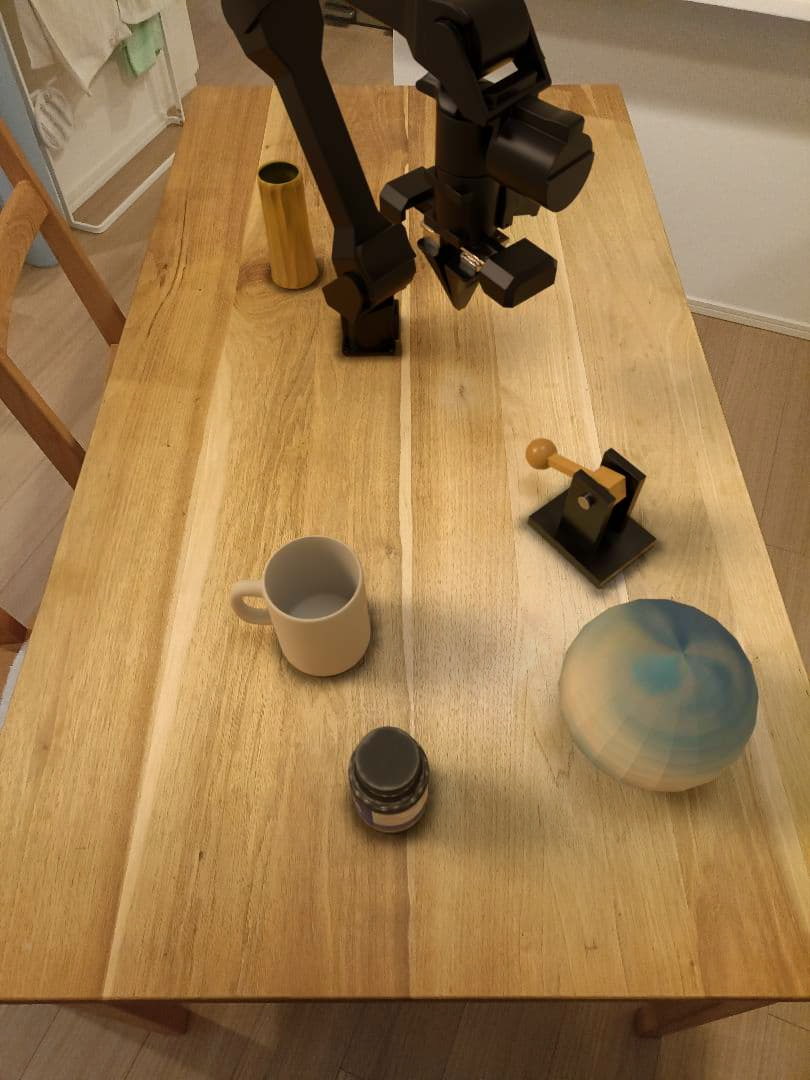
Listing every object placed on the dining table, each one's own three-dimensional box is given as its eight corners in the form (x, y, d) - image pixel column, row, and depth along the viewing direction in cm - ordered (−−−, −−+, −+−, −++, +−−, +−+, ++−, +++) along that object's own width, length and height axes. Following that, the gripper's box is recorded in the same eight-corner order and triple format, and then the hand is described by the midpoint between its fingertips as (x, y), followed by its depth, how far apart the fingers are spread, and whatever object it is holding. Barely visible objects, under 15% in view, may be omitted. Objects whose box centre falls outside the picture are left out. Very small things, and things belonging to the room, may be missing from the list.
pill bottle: (353, 763, 66) (342, 718, 56) (424, 757, 66) (425, 711, 56) (356, 839, 62) (346, 804, 53) (431, 832, 62) (434, 797, 53)
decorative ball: (724, 828, 62) (802, 776, 50) (539, 796, 64) (569, 737, 51) (716, 660, 70) (782, 578, 58) (552, 635, 72) (581, 549, 59)
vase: (311, 292, 98) (296, 190, 86) (265, 287, 99) (244, 184, 87) (323, 262, 102) (311, 159, 90) (279, 257, 102) (261, 154, 90)
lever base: (526, 522, 79) (539, 463, 70) (581, 483, 81) (600, 421, 73) (598, 589, 74) (620, 533, 66) (653, 545, 77) (682, 486, 69)
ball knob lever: (520, 468, 79) (516, 443, 77) (543, 453, 80) (540, 427, 78) (606, 514, 71) (604, 487, 69) (630, 497, 72) (629, 470, 70)
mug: (373, 596, 74) (367, 534, 65) (367, 679, 70) (360, 624, 60) (250, 593, 75) (227, 530, 65) (236, 675, 70) (209, 620, 61)
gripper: (617, 172, 63) (583, 321, 76) (468, 82, 71) (460, 231, 84) (518, 226, 59) (499, 372, 72) (372, 125, 67) (379, 273, 80)
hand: (460, 307), depth 77 cm, fingers closed
